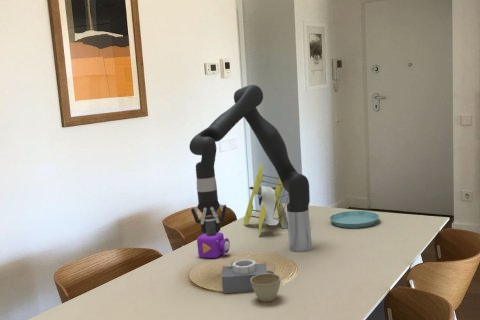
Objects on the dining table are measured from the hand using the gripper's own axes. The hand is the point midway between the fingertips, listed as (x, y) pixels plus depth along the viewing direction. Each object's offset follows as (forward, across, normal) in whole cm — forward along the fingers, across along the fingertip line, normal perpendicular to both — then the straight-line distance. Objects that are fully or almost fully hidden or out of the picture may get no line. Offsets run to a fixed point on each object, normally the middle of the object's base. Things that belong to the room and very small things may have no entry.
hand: (211, 232), depth 197 cm
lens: (+1, 0, 0) cm, 1 cm away
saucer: (+18, -67, -59) cm, 91 cm away
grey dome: (+18, -20, +4) cm, 27 cm away
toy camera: (+17, +1, -24) cm, 30 cm away
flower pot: (+17, -19, +27) cm, 37 cm away
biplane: (+18, -25, -58) cm, 66 cm away
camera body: (+17, -12, +14) cm, 25 cm away
